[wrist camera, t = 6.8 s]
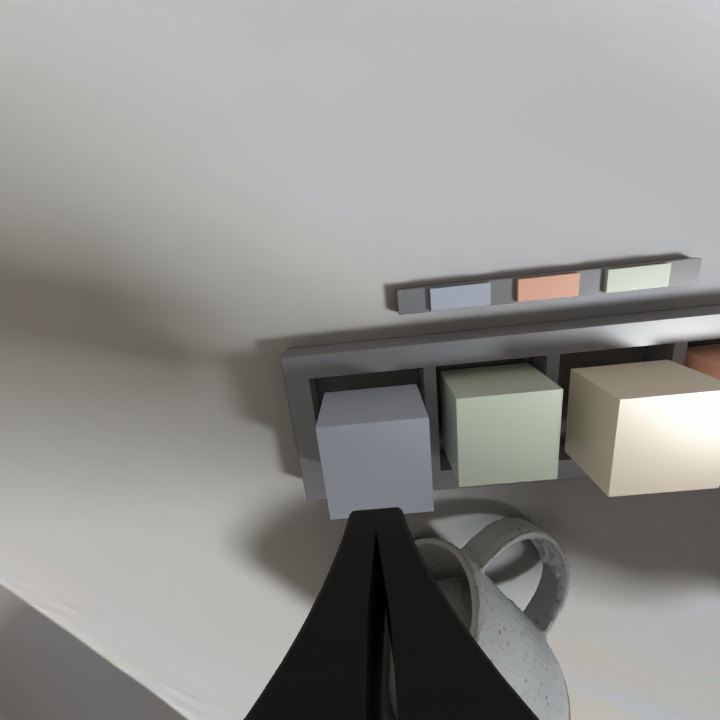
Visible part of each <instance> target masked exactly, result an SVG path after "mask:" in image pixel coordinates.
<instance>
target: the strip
mask: <svg viewBox="0 0 720 720" xmlns="http://www.w3.org/2000/svg"><path fill="white" fill-rule="evenodd" d="M701 259H702V258H693V257H690V258H681V259H672V260H662V261H653V262H644V263H634V264H625V265H616V266H607V267H597V268H588V269H579V270H570V271H560V272H551V273H542V274H532V275H523V276H514V277H505V278H495V279H486V280H477V281H468V282H458V283H449V284H440V285H430V286H421V287H412V288H403V289H396V291H397V304H398V313H399V315H403V314H412V313H422V312H431V311H441V310H450V309H460V308H469V307H479V306H488V305H498V304H508V303H517V302H527V301H536V300H546V299H555V298H565V297H574V296H584V295H593V294H603V293H612V292H622V291H631V290H641V289H651V288H660V287H670V286H679V285H689V284H697V282H698V276H699V271H700V265H701Z"/></svg>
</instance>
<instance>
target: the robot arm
mask: <svg viewBox="0 0 720 720" xmlns="http://www.w3.org/2000/svg"><path fill="white" fill-rule="evenodd" d="M385 611H386V618H387V624H388V631H389V637H390V644H391V651H392V657H393V664H394V673H395V688H396V703H397V718H398V720H539V718H538V717H537V716H536V715H535V714H534V713H533V711H532V710H531V709H530V708H529V707H528V705H527V704H526V703H525V702H524V701H523V700H522V698H521V697H520V696H519V695H518V694H517V692H516V691H515V690H514V689H513V688H512V687H511V685H510V684H509V683H508V682H507V681H506V680H505V678H504V677H503V676H502V675H501V673H500V672H499V671H498V669H497V668H496V667H495V666H494V664H493V663H492V662H491V660H490V659H489V658H488V657H487V655H486V654H485V653H484V651H483V650H482V649H481V647H480V646H479V645H478V643H477V642H476V641H475V639H474V638H473V636H472V635H471V634H470V632H469V631H468V630H467V628H466V627H465V625H464V624H463V622H462V621H461V619H460V618H459V617H458V615H457V614H456V612H455V611H454V609H453V608H452V606H451V604H450V603H449V601H448V600H447V598H446V597H445V595H444V594H443V592H442V590H441V589H440V587H439V585H438V584H437V582H436V580H435V579H434V577H433V575H432V574H431V572H430V570H429V568H428V566H427V565H426V563H425V561H424V559H423V557H422V556H421V554H420V552H419V550H418V548H417V546H416V544H415V542H414V539H413V537H412V535H411V533H410V531H409V528H408V526H407V523H406V520H405V517H404V514H403V510H401V509H400V508H399V507H392V508H380V509H368V510H356V511H352V512H351V513H350V514H349V518H348V522H347V526H346V529H345V532H344V535H343V538H342V541H341V544H340V546H339V549H338V552H337V554H336V557H335V559H334V561H333V564H332V566H331V568H330V571H329V573H328V575H327V578H326V580H325V582H324V584H323V587H322V589H321V591H320V593H319V595H318V597H317V599H316V601H315V603H314V605H313V607H312V609H311V611H310V613H309V615H308V617H307V619H306V620H305V622H304V624H303V626H302V628H301V630H300V631H299V633H298V635H297V637H296V639H295V640H294V642H293V644H292V645H291V647H290V649H289V651H288V652H287V654H286V656H285V657H284V659H283V661H282V662H281V664H280V665H279V667H278V669H277V670H276V672H275V673H274V675H273V676H272V678H271V679H270V681H269V683H268V684H267V686H266V687H265V689H264V690H263V692H262V694H261V695H260V697H259V698H258V700H257V701H256V702H255V704H254V705H253V707H252V708H251V710H250V711H249V713H248V714H247V716H246V717H245V719H244V720H384V666H385Z"/></svg>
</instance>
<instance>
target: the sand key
mask: <svg viewBox="0 0 720 720" xmlns="http://www.w3.org/2000/svg"><path fill="white" fill-rule="evenodd" d="M565 452H566V453H567V454H568V455H569V456H570V457H571V458H572V459H573V460H574V461H575V462H576V464H577V465H578V466H579V467H580V468H581V469H582V470H583V471H584V472H585V473H586V474H587V475H588V476H589V477H590V478H591V479H592V480H593V481H594V482H595V483H596V484H597V486H598V487H599V488H600V489H601V490H602V491H603V492H604V493H605V494H606V495H607V496H608V497H614V496H627V495H639V494H651V493H663V492H675V491H688V490H700V489H712V488H719V485H720V380H719V379H716V378H714V377H711V376H709V375H706V374H704V373H701V372H698V371H696V370H693V369H691V368H688V367H686V366H683V365H681V364H678V363H675V362H673V361H670V360H658V361H647V362H637V363H627V364H616V365H606V366H596V367H585V368H575V369H571V370H570V384H569V398H568V411H567V425H566V439H565Z"/></svg>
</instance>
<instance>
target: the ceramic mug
mask: <svg viewBox="0 0 720 720" xmlns="http://www.w3.org/2000/svg"><path fill="white" fill-rule="evenodd" d="M525 539H530V540H531V541H532V542H533V544H534V546H535V547H536V549H537V551H538V554H539V559H540V560H541V561H543V571H542V577H541V580H540V582H539V585H538V587H537V590H536V592H535V594H534V596H533V597H532V599H531V601H530V602H529V604H528V605H527V607H526V609H525V610H524V611H523V612H522V611H521V610H520V608H518V607H517V606H516V605H515V603H514V602H513V601H512V600H510V599H509V598H507V597H506V596H505V595H504V594H503V593H502V592H501V591H500V589H499V588H498V587H497V586H496V585H495V583H494V582H493V581H492V580H491V579H490V578H489V577H488V576H487V575H486V574H485V573H484V572H485V569H486V568H487V566H488V564H489V563H490V562H491V561H492V560H493V559H495V558H496V557H497V556H499V555H500V554H501V553H502V552H504V551H505V550H506V549H507V548H509V547H510V546H512V545H513V544H515V543H517V542H519V541H522V540H525ZM414 542H415V544H416V546H417V548H418V550H419V552H420V554H421V556H422V557H423V559H424V561H425V563H426V565H427V566H428V568H429V570H430V572H431V574H432V575H433V577H434V579H435V580H436V582H437V584H438V585H439V587H440V589H441V590H442V592H443V594H444V595H445V597H446V598H447V600H448V601H449V603H450V604H451V606H452V608H453V609H454V611H455V612H456V614H457V615H458V617H459V618H460V619H461V621H462V622H463V624H464V625H465V627H466V628H467V630H468V631H469V632H470V634H471V635H472V636H473V638H474V639H475V641H476V642H477V643H478V645H479V646H480V647H481V649H482V650H483V651H484V653H485V654H486V655H487V657H488V658H489V659H490V660H491V662H492V663H493V664H494V666H495V667H496V668H497V669H498V671H499V672H500V673H501V675H502V676H503V677H504V678H505V680H506V681H507V682H508V683H509V684H510V685H511V687H512V688H513V689H514V690H515V691H516V692H517V694H518V695H519V696H520V697H521V698H522V700H523V701H524V702H525V703H526V704H527V705H528V707H529V708H530V709H531V710H532V711H533V713H534V714H535V715H536V716H537V717H538V718H539V720H571V716H570V702H569V696H568V691H567V686H566V682H565V679H564V676H563V673H562V671H561V668H560V666H559V663H558V661H557V659H556V657H555V656H554V654H553V652H552V650H551V648H550V647H549V645H548V643H547V638H546V635H547V634H548V632H549V631H550V629H551V628H552V627H553V625H554V623H555V622H556V620H557V618H558V616H559V615H560V613H561V611H562V609H563V606H564V603H565V601H566V598H567V595H568V592H569V579H570V576H569V566H568V563H567V559H566V557H565V555H564V552H563V550H562V549H561V547H560V546H559V545H558V543H557V542H556V541H555V539H554V538H553V537H552V536H551V535H550V534H548V533H547V532H546V531H544V530H543V529H541V528H539V527H537V526H535V525H534V524H532V523H530V522H529V521H526V520H523V519H521V518H505V519H501V520H498V521H495V522H493V523H491V524H489V525H488V526H486V527H485V528H484V529H483V530H481V531H480V532H479V533H478V534H477V535H475V536H474V537H473V538H472V539H471V540H470V541H469V542H468V543H467V544H466V545H465V546H464V547H463V548H462V549H461V550H460V549H459V548H458V547H456V546H455V545H453V544H452V543H450V542H448V541H445V540H442V539H437V538H420V539H418V540H415V541H414ZM384 720H398V718H397V703H396V688H395V673H394V664H393V657H392V651H391V644H390V637H389V631H388V624H387V618H386V611H385V666H384Z"/></svg>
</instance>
